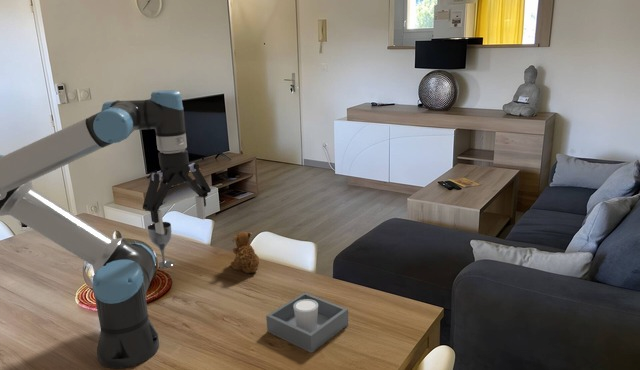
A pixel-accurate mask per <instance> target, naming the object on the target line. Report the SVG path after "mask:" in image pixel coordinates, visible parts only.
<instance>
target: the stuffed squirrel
mask: <svg viewBox="0 0 640 370" xmlns="http://www.w3.org/2000/svg"><path fill="white" fill-rule="evenodd" d="M252 234H253V233H252V232H246V231H239V232H238V233H237V234H236V236H233V237H232V240H231V242H233V243H235V245H236V246H235V247H233V249H232V252H233V254H235V256H234V260H233V261H231V262H230V266H231V267H232V269H233V270H235V271H243V273H246V274H251V273H256V272H257V271H258V269H259V264H260V257H259V256H258V255H257V254H256V253H255V249H254V248H253V246H252V245H251V240H250V238H251V236H252Z"/></svg>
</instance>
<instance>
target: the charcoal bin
mask: <svg viewBox="0 0 640 370" xmlns="http://www.w3.org/2000/svg"><path fill="white" fill-rule="evenodd" d="M303 299H311V300H314V301H316V302H317V303H318V317H317V329H315V330H314V331H312V332H311V333H310V332H308V331H305V330H303V329H301V328H299V327H297V326H296V321H295V314H294V308H293V306H294V304H295V302H297V301H299V300H303ZM265 317H266V329H267V331H266V332H267V333H269V334H272V335H273V336H276V337H278V338H280V339H282V340H285V341H286V342H288V343H290V344H292V345H295V346H296V347H299V348H300V349H303V350H305V351H307V352H309V353H311V354H312V353H313V352H315V351H317V350H318V349H319V348H320V347H321V346H323V345H324V344H325V343H326V342H328V341H329V340H330V339H333V337H334V336H336V335H338V333H340V332H341V331H342V330H343V328H344V329H345V328H346V327H348V326H349V308H346V307H344V306H341V305H339V304H337V303H334V302H331V301H328V300H326V299H323V298H320V297H319V296H315V295H313V294H310V293H307V292H305V291H304V292H303V293H301V294H299V295H297V296H296V297H294V298H293V299H291V300H289V301H288V302H286V303H285V304H283V305H281V306H279V307H278V308H276V309H274V310H273V311H271V312H269V313H268V314H266V315H265ZM347 325H348V326H347Z"/></svg>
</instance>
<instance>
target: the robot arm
mask: <svg viewBox="0 0 640 370" xmlns="http://www.w3.org/2000/svg"><path fill="white" fill-rule="evenodd" d="M152 129H153V130H155V136H156V137H155V138H156V146H157V150H158V151H159V152H158V153H157V155H158V164H159V166H160V171H159V172H150V173H149V183H148V187H147V191H146V195H145V197H144V201H143V204H142V209H143V210H144V211H147V212H150V217H151V218H150V219H151V222H152V223H155V229H156V233H159V234H161V235H162V234H164V228H163V222H164V220H163V214H162V213H163V212H162V210H160V207H161V206H162V204H163V202H164V200H165V198H166V196H167V194H168V192H169V190H171V189H172V187H175V186H178V185H181V184H184V183H185V184H186V185H187V186H188V187H189V188H190V189H191V190H192V191H193V192H194V193H196V196H195V195H194V196H195V198H194V199H195V206H196V216H197V217H196V218H197V219H200V220H203V221H204V220H206V211H205V207H206V206H207V201H206V198H207V197H208V196H209V194H208V193H211V192H212V190H211V188H210V186H209V184H208V182H207V180H206V179H205V177H204V176H203V174H202V172H201V170H200V166H199V163H195V162H189V160H190V159H189V151H188V150H187V147H188V144H187V134H186V121H185V112H184V105H183V100H182V94H181V92H180V91H178V90H173V89H172V90H171V89H170V90H169V89H168V90H167V89H166V90H164V89H163V90H155V91H152V92H151V94H150V99H143V100H139V99H138V100H137V99H136V100H113V101H106V102H104V103H103V104H102V107H101V111H100V112H97V113H95V114H93V115H91V116H88V117H86V118H84V119H82V120H80V121H77V122H76V123H73V124H70V125H69V126H67V127H64V128H62V129H59V130H58V131H55V132H54V133H51V134H49V135H46V136H45V137H42V138H40V139H37V140H35V141H33V142H32V143H29V144H27V145H24V146H22V147H21V148H18V149H16V150H14V151H12V152H9V153H8V154H4V155H3V154H0V217H3V216H11V217H13V218H14V219H16V220H17V221H18V222H21V224H24V225H25V226H27V227H29V228H30V229H32V230H33V231H35V232H37V233H39V234H40V235H42V236H44V237H45V238H47V239H49V240H50V241H52V242H53V243H55V244H57V245H59V246H60V247H61V248H63V249H65V250H66V251H68V252H70V253H71V254H73V255H74V256H76V257H78V258H80V259H81V260H83V261H85V262H86V263H87V264H89V265H90V266H92V269H93V274H94V275H93V277H92V292H93V296H94V299H95V306H96V310H97V316H98V323H99V327H100V333H99V339H98V342H97V343H98V344H97V347H96V354H97V359H98V362H99V363H100V365H102V366H103V367H105V368H110V369H124V368H129V367H134V366H137V365H139V364H142V363H144V362H146V361H148V360H149V359H151V358H152V357H153V356H154V355H155V354H156V353H157V352H158V350H159V348H160V339H159V334H158V332H157V331H156V329H155V327H154V325H153V324H152V322H151V320H150V318H149V312H148V305H147V304H148V303H147V297H146V296H147V293H148V289H149V287H150V284H151V281H152V280H153V277H154V275H155V273H156V268H155V266H156V263H157V262H156V257H155V254H154V252H153V251H152V250H151V248H149V247H148V246H146V245H145V244H143V243H140V242H128V240H125V239H124V238H122V237H119V238H112V237H110V236H108V235H107V234H105V233H104V232H102V231H100V230H99V229H97V228H96V227H94V226H93V225H91V224H90V223H88V222H87V221H85V220H83V219H82V218H81V217H79V216H77V215H75V214H74V213H72V212H71V211H69V210H67V209H66V208H64V207H63V206H61V205H60V204H58V203H57V202H55V201H54V200H52V199H50V198H49V197H47V196H46V195H44V194H42V193H41V192H40V191H38V190H36V189H35V188H34V187H33V184H32V183H33V182H32V181H34V180H36V179H39V178H41V177H43V176H45V175H47V174H49V173H51V172H53V171H56V170H58V169H61V168H62V167H64V166H66V165H68V164H71V163H73V162H75V161H77V160H79V159H81V158H84V157H86V156H88V155H90V154H93V153H95V152H98V151H99V150H101V149H103V148H106V147H109V146H110V145H112V144H116V143H120V142H122V141H124V140H127V138H129V136H130V135H131V134H133V133H134V131H139V130H140V131H141V130H152ZM190 172H191V174H192V176H193V177H194V179H195V180H196V182H195V181H194V180H193V178H192V177H190V176H189V174H190Z"/></svg>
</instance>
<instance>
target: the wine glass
mask: <svg viewBox="0 0 640 370" xmlns="http://www.w3.org/2000/svg"><path fill="white" fill-rule="evenodd" d="M163 228H164V234H162V235H161V234H159V233H156V229H155V223H154V222H152V223H151V224H149V225H147V233H148V237H149V239H150V242H151V243H152V244H153V245H154V246H155V247H158V249H159V250H160V252H161V253H160V254H161V259H162V260H159V261H158V262H159V267H160V268H162V269H165V268H164V267H168V268H171V267H173V265H174V264H175V261H174V260H173V259H166V258H165V249H166V247H167V245H168V244H169V242H170V241H171V240H172V239H171V238H172V225H171V222H169V221H163ZM160 268H159V269H160Z"/></svg>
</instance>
